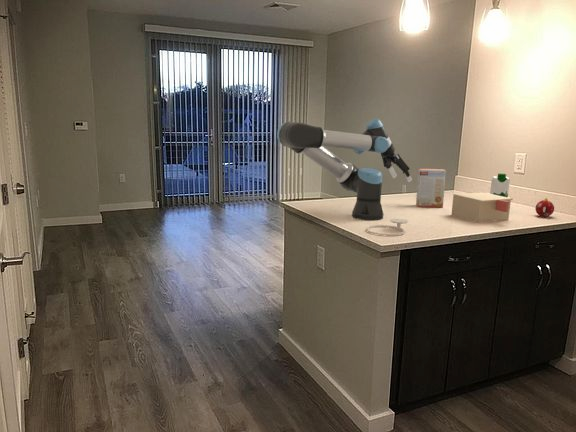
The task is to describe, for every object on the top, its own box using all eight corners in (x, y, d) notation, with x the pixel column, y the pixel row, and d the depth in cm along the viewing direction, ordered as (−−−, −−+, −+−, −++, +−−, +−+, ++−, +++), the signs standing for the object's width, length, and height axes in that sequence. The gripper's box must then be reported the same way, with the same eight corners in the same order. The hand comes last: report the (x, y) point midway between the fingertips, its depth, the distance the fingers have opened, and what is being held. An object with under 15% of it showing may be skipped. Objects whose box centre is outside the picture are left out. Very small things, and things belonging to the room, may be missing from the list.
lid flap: (490, 213, 220) (492, 202, 219) (452, 203, 243) (453, 194, 242) (521, 210, 228) (523, 200, 227) (481, 201, 251) (482, 192, 250)
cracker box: (440, 206, 267) (444, 169, 263) (443, 208, 262) (446, 170, 257) (415, 204, 269) (418, 168, 264) (417, 207, 263) (420, 169, 258)
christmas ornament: (553, 216, 247) (556, 197, 245) (552, 219, 240) (555, 199, 238) (535, 214, 252) (537, 195, 249) (533, 216, 244) (536, 197, 242)
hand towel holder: (357, 220, 208) (392, 216, 219) (357, 230, 209) (392, 225, 220) (383, 228, 194) (420, 223, 204) (383, 238, 195) (419, 233, 205)
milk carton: (489, 210, 257) (493, 174, 253) (487, 207, 266) (491, 172, 262) (507, 212, 255) (511, 175, 251) (504, 208, 264) (508, 173, 259)
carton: (478, 222, 228) (480, 202, 226) (451, 214, 244) (453, 195, 242) (508, 219, 236) (510, 199, 234) (480, 212, 252) (482, 193, 250)
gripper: (405, 144, 235) (422, 178, 243) (377, 140, 257) (394, 171, 266) (393, 153, 233) (411, 187, 242) (367, 148, 256) (384, 179, 264)
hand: (402, 179), depth 254 cm, fingers open, 13 cm apart
